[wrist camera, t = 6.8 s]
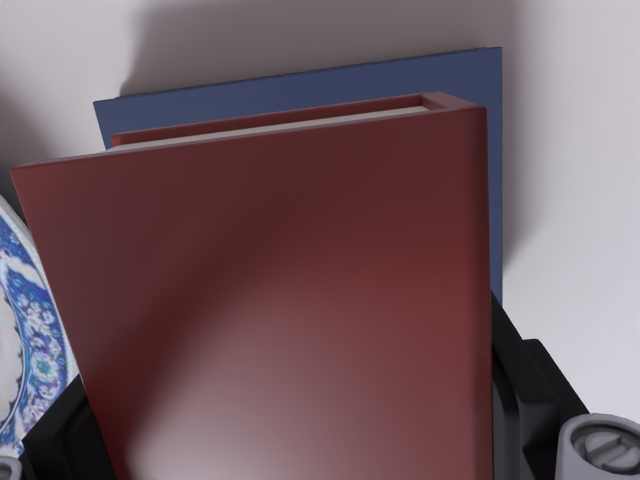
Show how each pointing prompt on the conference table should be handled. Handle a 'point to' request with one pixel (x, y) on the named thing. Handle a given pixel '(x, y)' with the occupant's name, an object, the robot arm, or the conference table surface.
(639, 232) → the conference table surface
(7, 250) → the ceramic plate
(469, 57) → the hardback
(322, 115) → the paperback
